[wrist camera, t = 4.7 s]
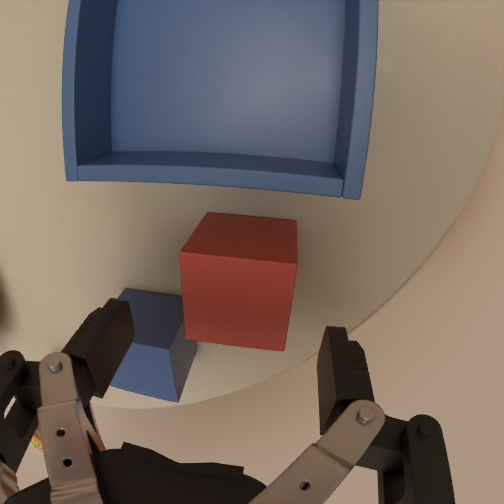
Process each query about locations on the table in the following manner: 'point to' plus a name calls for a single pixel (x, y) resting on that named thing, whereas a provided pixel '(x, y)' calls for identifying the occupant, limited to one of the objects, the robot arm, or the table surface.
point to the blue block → (156, 347)
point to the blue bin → (220, 93)
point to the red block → (239, 280)
